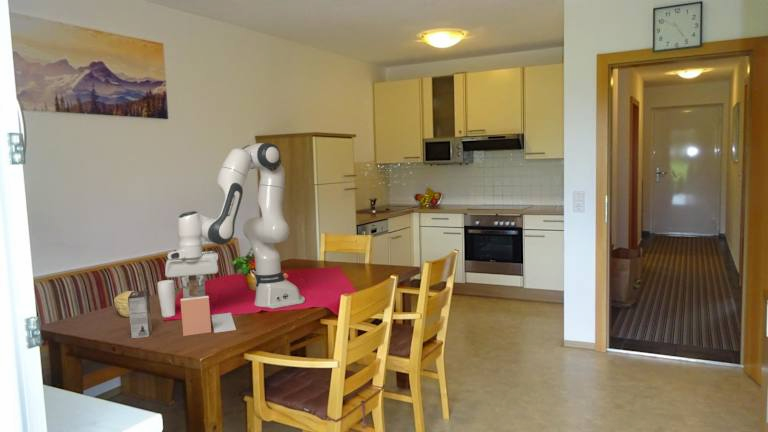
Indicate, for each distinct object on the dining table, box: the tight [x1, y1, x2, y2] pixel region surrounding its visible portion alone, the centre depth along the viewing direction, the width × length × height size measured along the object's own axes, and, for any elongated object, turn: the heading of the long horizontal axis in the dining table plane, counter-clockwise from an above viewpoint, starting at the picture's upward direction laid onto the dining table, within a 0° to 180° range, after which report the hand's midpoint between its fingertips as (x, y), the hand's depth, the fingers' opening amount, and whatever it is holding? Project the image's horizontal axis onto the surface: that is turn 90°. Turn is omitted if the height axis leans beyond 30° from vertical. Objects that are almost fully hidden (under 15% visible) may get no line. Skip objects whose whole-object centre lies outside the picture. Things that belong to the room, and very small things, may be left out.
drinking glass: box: [157, 279, 176, 319], centre depth 238 cm, size 7×7×15 cm
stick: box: [189, 275, 198, 296], centre depth 226 cm, size 3×22×4 cm, turn 19°
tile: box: [180, 295, 212, 337], centre depth 212 cm, size 10×3×14 cm, turn 109°
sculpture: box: [113, 290, 137, 318], centre depth 243 cm, size 12×12×11 cm
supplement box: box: [181, 274, 207, 299], centre depth 262 cm, size 7×7×13 cm
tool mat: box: [210, 312, 237, 334], centre depth 225 cm, size 8×26×1 cm, turn 19°
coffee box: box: [128, 289, 153, 340], centre depth 214 cm, size 9×6×16 cm
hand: (192, 286), depth 226 cm, fingers closed on stick, 3 cm apart
